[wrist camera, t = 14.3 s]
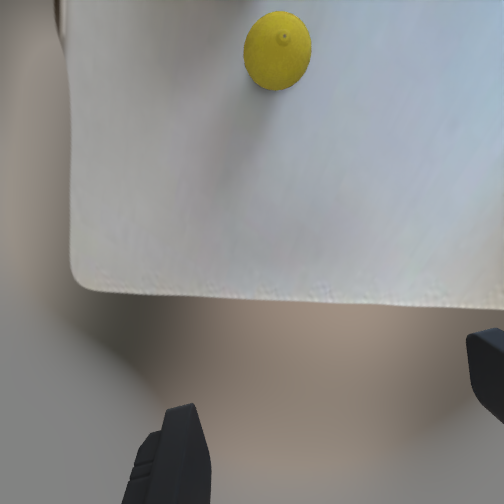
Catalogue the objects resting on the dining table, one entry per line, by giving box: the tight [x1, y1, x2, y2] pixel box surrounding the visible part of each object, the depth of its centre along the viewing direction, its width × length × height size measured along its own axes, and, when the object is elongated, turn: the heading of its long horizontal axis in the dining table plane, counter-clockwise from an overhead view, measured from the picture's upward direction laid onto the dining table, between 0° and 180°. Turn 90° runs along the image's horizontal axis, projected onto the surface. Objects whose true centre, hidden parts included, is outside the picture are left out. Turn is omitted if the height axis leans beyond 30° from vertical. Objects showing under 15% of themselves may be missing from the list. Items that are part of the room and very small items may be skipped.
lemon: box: [244, 11, 311, 91], centre depth 31 cm, size 6×6×8 cm
